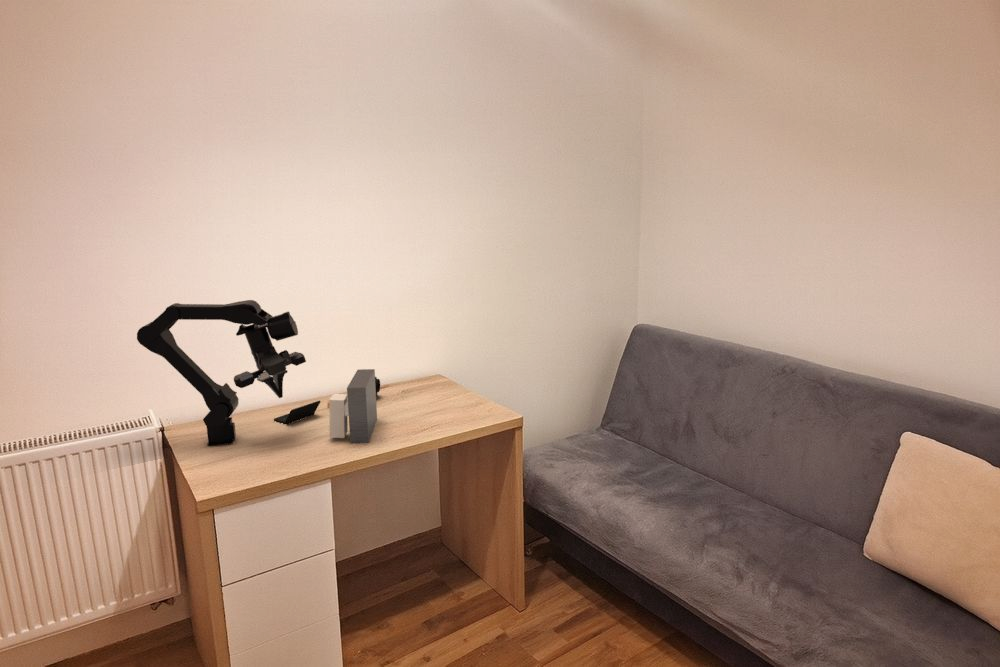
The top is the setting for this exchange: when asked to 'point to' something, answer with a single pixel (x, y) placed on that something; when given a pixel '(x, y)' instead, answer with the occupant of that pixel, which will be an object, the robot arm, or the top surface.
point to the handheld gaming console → (298, 413)
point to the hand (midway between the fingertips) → (280, 397)
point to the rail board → (361, 406)
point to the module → (338, 416)
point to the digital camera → (377, 385)
